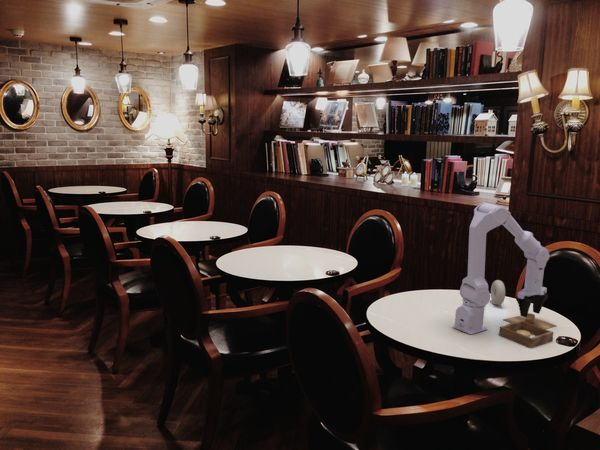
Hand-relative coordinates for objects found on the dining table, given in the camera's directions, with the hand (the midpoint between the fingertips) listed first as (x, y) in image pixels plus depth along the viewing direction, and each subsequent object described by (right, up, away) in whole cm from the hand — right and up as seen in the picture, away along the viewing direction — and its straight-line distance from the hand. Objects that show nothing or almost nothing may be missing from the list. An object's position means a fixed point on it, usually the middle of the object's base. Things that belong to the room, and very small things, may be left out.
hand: (529, 314), depth 192 cm
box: (-7, -6, -14) cm, 16 cm away
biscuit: (-7, -5, -10) cm, 13 cm away
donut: (-5, 0, +20) cm, 21 cm away
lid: (0, -4, +1) cm, 4 cm away
